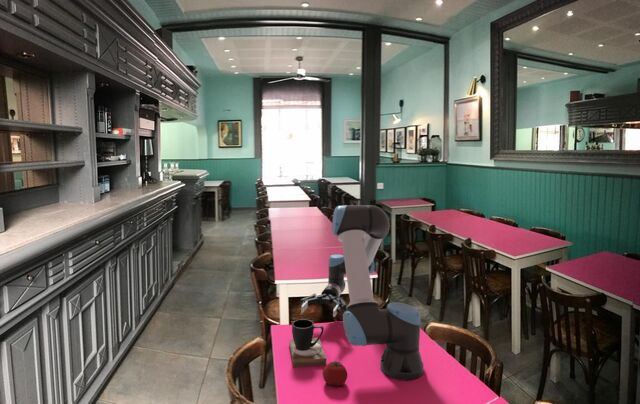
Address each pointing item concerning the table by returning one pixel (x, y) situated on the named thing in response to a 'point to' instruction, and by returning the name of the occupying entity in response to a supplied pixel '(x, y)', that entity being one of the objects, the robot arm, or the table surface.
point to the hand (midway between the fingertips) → (317, 311)
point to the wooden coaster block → (308, 355)
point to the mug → (304, 334)
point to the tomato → (335, 373)
